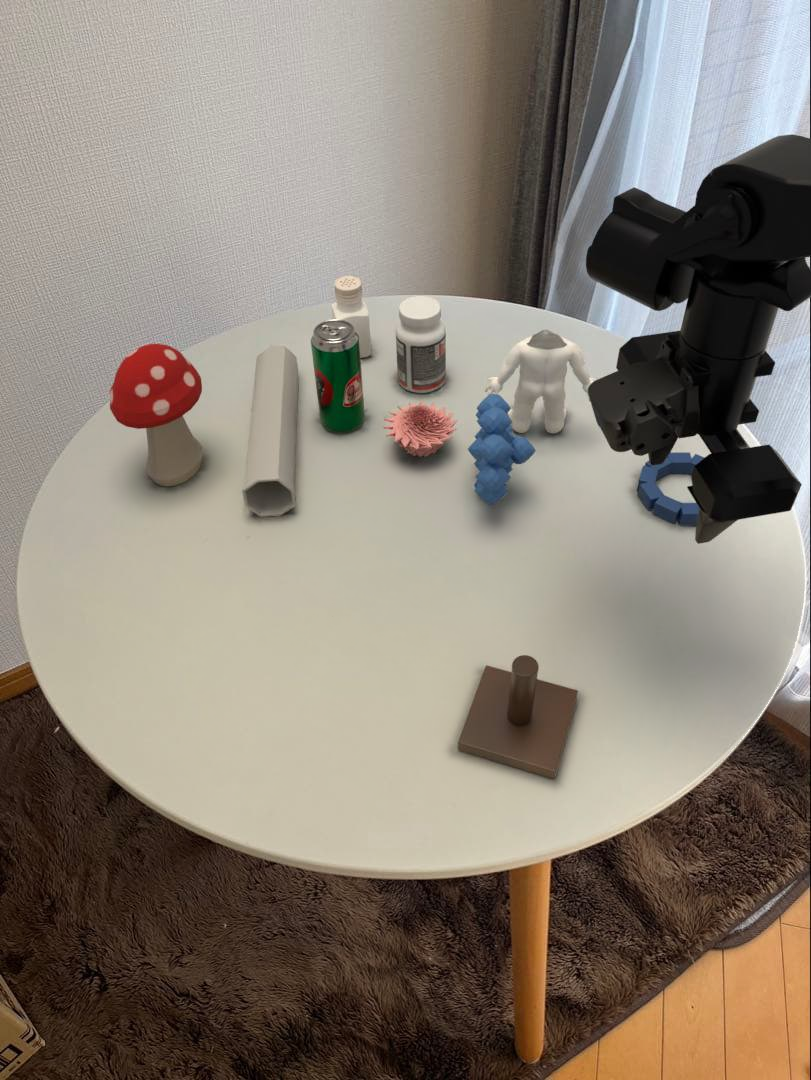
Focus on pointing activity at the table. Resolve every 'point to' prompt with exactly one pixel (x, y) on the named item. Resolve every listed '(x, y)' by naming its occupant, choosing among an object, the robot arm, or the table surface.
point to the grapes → (496, 449)
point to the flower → (421, 428)
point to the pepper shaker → (353, 310)
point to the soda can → (338, 375)
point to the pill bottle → (421, 345)
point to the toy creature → (541, 378)
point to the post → (519, 718)
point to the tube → (272, 434)
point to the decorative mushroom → (160, 409)
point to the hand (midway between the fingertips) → (678, 500)
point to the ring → (654, 495)
